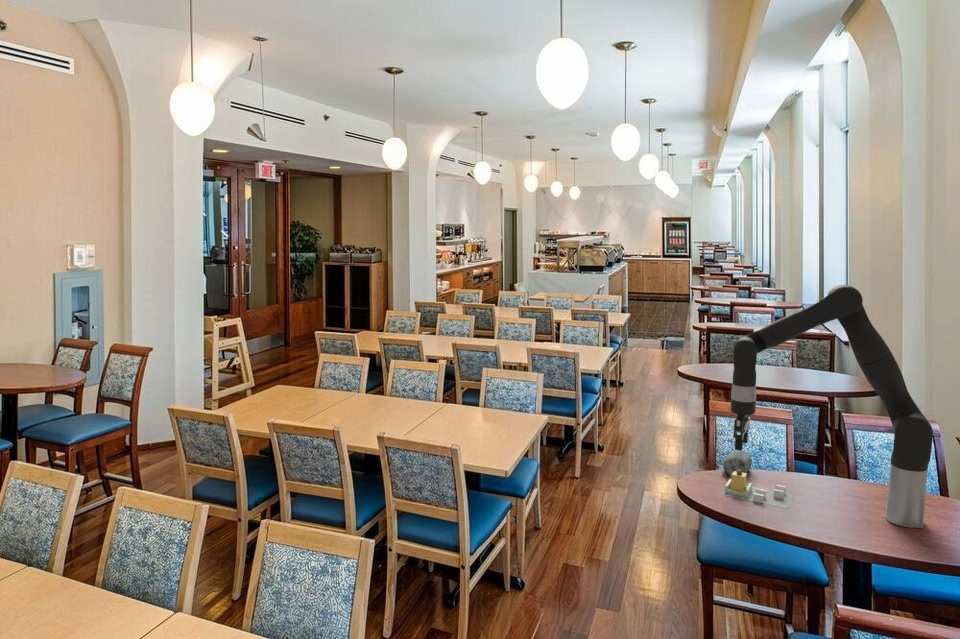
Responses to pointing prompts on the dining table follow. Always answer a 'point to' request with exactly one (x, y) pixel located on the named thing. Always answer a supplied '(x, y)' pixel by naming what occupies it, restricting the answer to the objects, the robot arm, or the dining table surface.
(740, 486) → the yellow drawer
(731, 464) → the spool
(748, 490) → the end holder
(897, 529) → the dining table surface
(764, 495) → the white blocks
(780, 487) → the white blocks
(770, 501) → the board
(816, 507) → the dining table surface
